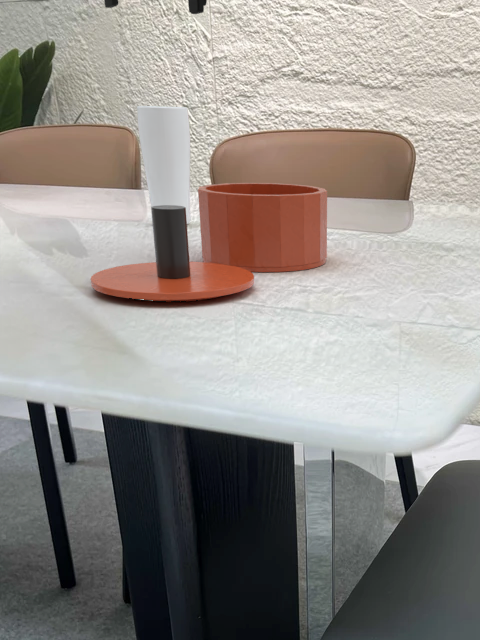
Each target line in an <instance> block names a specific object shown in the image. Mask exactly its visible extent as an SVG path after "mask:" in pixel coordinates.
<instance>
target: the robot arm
mask: <svg viewBox="0 0 480 640" xmlns="http://www.w3.org/2000/svg"><path fill="white" fill-rule="evenodd" d="M103 1H104V7H105V8H106V9H112V8H115V7H117V6H118V5H119V0H103ZM187 3H188V5H187V6H188V12H189V13H190V14H191V15H198V14H203V13H204V11H205V6H206V5H207V3H208V2H207V0H187Z"/></svg>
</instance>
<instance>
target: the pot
mask: <svg viewBox="0 0 480 640" xmlns="http://www.w3.org/2000/svg"><path fill="white" fill-rule="evenodd" d="M197 195H198V197H197V198H198V210H199V226H200V228H199V229H200V240H201V241H200V242H201V257H202V262H206V263H217V264H225V265H231V266H236V267H240V268H243V269H246V270H248V271H250V272H251V273H284V272H285V273H286V272H297V271H304V270H311V269H315V268H318V267H319V268H320V267H321V266H323V265H325V264H326V262H327V261H326V260H327V258H328V190H326V188H324V187H320V186H319V187H318V186H314V185H303V184H295V183H277V182H275V183H274V182H231V183H230V182H226V183H218V184H217V183H216V184H215V183H213V184H206V185H201V186H198V188H197Z"/></svg>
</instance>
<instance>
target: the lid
mask: <svg viewBox="0 0 480 640" xmlns="http://www.w3.org/2000/svg"><path fill="white" fill-rule="evenodd" d="M150 210H151V212H150V213H151V222H152V224H151V225H152V235H153V243H154V244H153V245H154V254H155V256H154V257H155V261H154V262H152V261H151V262H140V263H131V264H123V265H117V266H113V267H109V268H106V269H102V270H100V271H98V272H97V271H96V272H95V273H93V275H91V277H90V284H91V288H92V289H93V290H94V291H97V292H98V293H100V294H105V295H107V296H112V297H117V298H124V299H129V298H132V299H131V300H134V299H144V300H153V301H166V302H165V303H172V302H171V301H180V302H179V303H182V302H181V301H186V302H196V300H198V301H204V300H211V299H216V298H220V297H223V296H229V295H233V294H236V293H240V292H243V291H246V290H249V289H250V288H252V287H253V285H254V284H255V275H254V272H250V271H248V270H246V269H243V268H240V267H236V266H231V265H225V264H217V263H206V262H203V261H190V247H189V236H188V224H187V220H186V208H185V207H184V206H176V205H161V206H153V207H151V206H150ZM153 301H152V302H153Z"/></svg>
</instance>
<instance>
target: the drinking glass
mask: <svg viewBox="0 0 480 640" xmlns="http://www.w3.org/2000/svg"><path fill="white" fill-rule="evenodd" d="M136 112H137V113H136V116H137V129H138V139H139V145H140V151H141V158H142V163H143V167H144V174H145V180H146V185H147V191H148V197H149V203H150V208H151V207H153V206H161V205H176V206H184V207H185V208H186V220H187V225H189V224H190V223H191V221H192V216H191V128H190V127H191V126H190V118H189V117H190V116H189V109H188V107H186V106H158V105H137V106H136Z"/></svg>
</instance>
